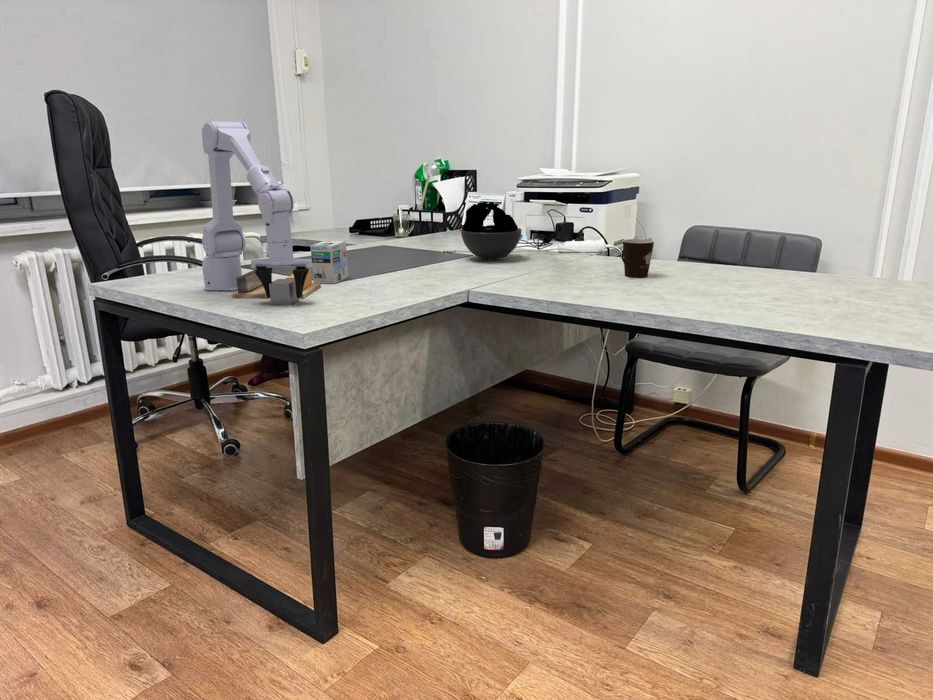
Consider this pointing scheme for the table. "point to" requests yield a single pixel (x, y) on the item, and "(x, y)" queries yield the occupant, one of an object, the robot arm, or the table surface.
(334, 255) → the light bulb box
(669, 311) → the table surface
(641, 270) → the coffee mug
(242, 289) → the vise
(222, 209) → the robot arm
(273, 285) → the steel block
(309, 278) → the block
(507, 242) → the coal bowl
